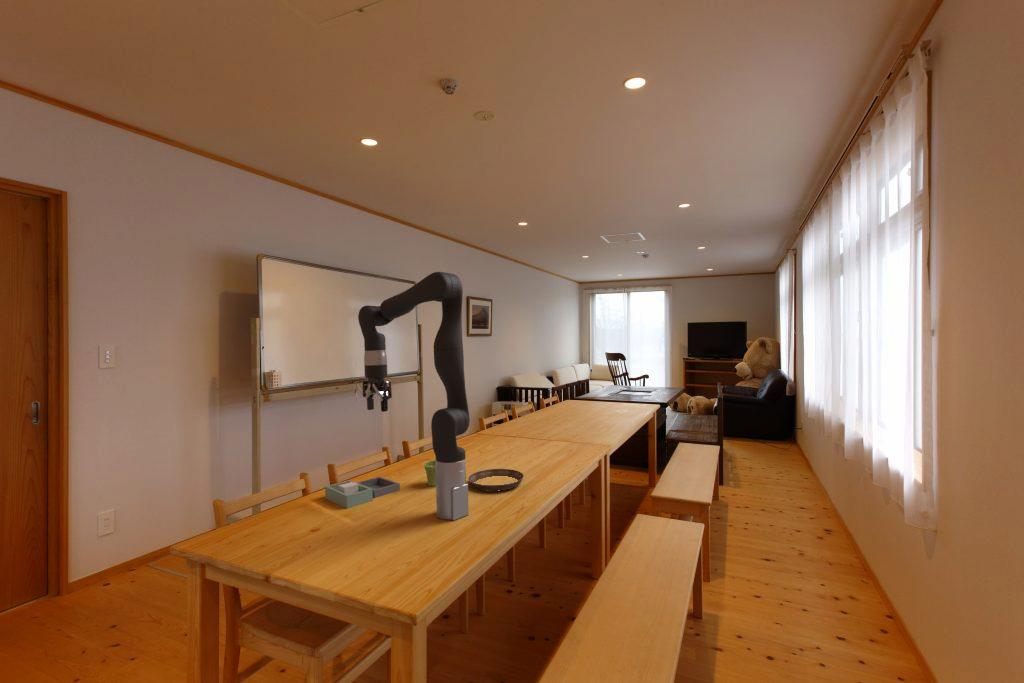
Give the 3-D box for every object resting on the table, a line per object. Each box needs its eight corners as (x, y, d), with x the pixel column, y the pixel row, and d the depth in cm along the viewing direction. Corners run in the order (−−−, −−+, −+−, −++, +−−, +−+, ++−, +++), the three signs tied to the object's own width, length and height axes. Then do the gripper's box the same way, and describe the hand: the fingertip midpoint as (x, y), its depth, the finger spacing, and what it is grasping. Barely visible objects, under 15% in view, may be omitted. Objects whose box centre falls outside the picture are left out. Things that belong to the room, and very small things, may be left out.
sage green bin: (372, 503, 156) (372, 488, 156) (347, 511, 150) (347, 496, 150) (349, 494, 166) (349, 480, 166) (325, 501, 160) (325, 486, 160)
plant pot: (436, 492, 166) (435, 468, 166) (418, 487, 172) (418, 464, 172) (454, 485, 174) (454, 462, 174) (437, 481, 180) (436, 458, 179)
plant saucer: (459, 491, 168) (459, 482, 168) (480, 474, 188) (480, 466, 188) (513, 496, 162) (513, 487, 162) (530, 478, 181) (530, 470, 181)
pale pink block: (358, 498, 158) (358, 484, 158) (344, 502, 155) (344, 487, 155) (352, 496, 161) (352, 481, 161) (338, 500, 157) (338, 485, 157)
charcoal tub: (399, 493, 166) (399, 483, 166) (374, 500, 159) (374, 490, 159) (379, 485, 175) (379, 476, 175) (355, 492, 168) (354, 483, 168)
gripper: (397, 363, 160) (398, 410, 160) (373, 362, 169) (375, 407, 169) (377, 364, 154) (379, 413, 154) (354, 364, 163) (356, 410, 163)
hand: (377, 410), depth 162 cm, fingers open, 8 cm apart
